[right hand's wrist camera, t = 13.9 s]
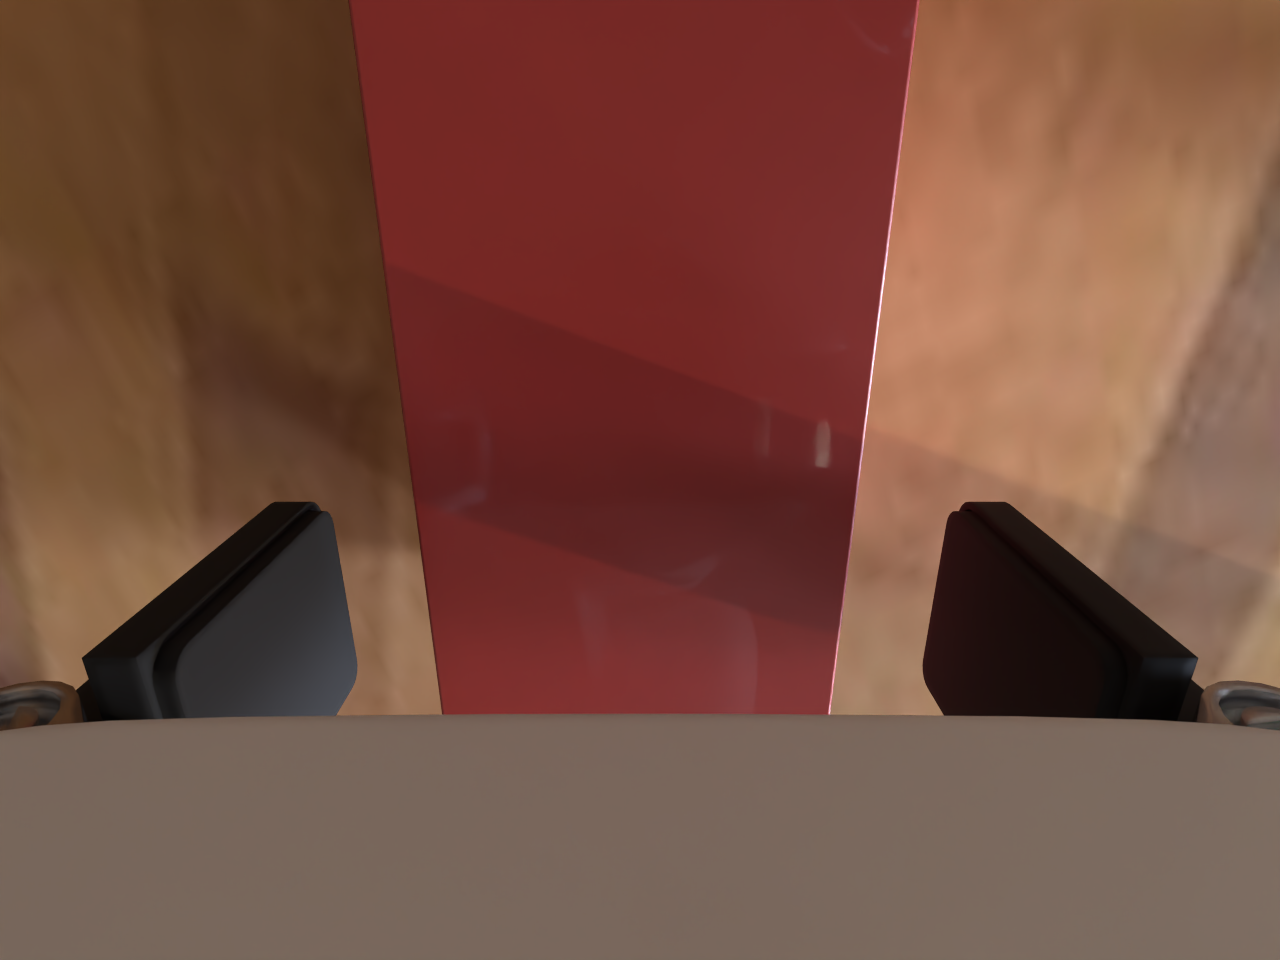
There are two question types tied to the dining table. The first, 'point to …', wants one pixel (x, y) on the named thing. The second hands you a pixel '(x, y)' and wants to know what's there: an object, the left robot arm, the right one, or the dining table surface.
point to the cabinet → (634, 334)
